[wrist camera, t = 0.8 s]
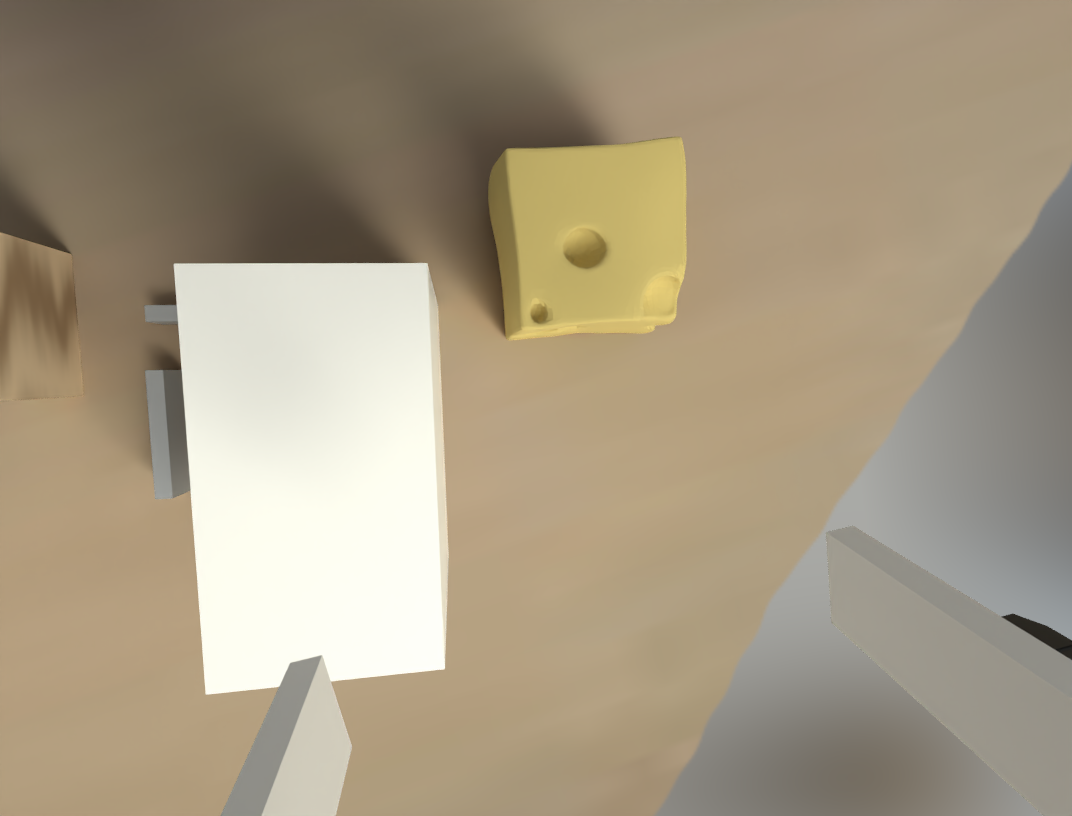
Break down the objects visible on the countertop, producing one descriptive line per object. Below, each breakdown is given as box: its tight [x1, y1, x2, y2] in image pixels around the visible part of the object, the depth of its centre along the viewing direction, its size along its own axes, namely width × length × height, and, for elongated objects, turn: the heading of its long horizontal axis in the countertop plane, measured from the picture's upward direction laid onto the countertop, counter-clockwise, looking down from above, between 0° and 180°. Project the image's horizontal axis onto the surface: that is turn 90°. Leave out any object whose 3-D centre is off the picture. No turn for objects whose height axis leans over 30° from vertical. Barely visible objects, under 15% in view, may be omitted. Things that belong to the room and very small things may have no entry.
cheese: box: [488, 137, 686, 340], centre depth 35 cm, size 10×11×10 cm
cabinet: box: [144, 263, 449, 694], centre depth 30 cm, size 18×18×15 cm
